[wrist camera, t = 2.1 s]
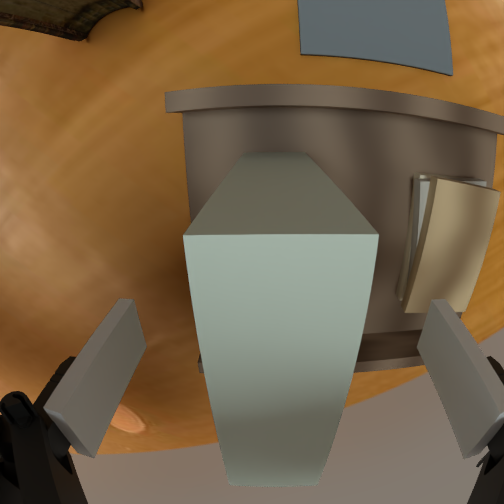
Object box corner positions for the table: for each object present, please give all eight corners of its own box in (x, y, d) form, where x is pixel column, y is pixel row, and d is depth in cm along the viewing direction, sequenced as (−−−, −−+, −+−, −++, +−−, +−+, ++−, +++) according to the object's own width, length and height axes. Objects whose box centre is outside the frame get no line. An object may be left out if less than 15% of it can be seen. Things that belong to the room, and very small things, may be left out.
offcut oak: (400, 305, 22) (404, 312, 21) (430, 175, 18) (437, 178, 17) (459, 305, 22) (465, 311, 21) (492, 188, 17) (500, 192, 16)
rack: (209, 334, 28) (199, 372, 24) (187, 97, 20) (164, 92, 15) (448, 325, 27) (468, 357, 22) (487, 118, 18) (524, 123, 14)
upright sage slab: (250, 307, 25) (229, 485, 11) (244, 152, 20) (183, 235, 6) (300, 307, 25) (317, 485, 11) (304, 152, 20) (378, 234, 6)
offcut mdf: (404, 302, 23) (408, 309, 22) (414, 178, 19) (420, 181, 18) (462, 293, 22) (468, 299, 21) (479, 178, 18) (486, 181, 17)
